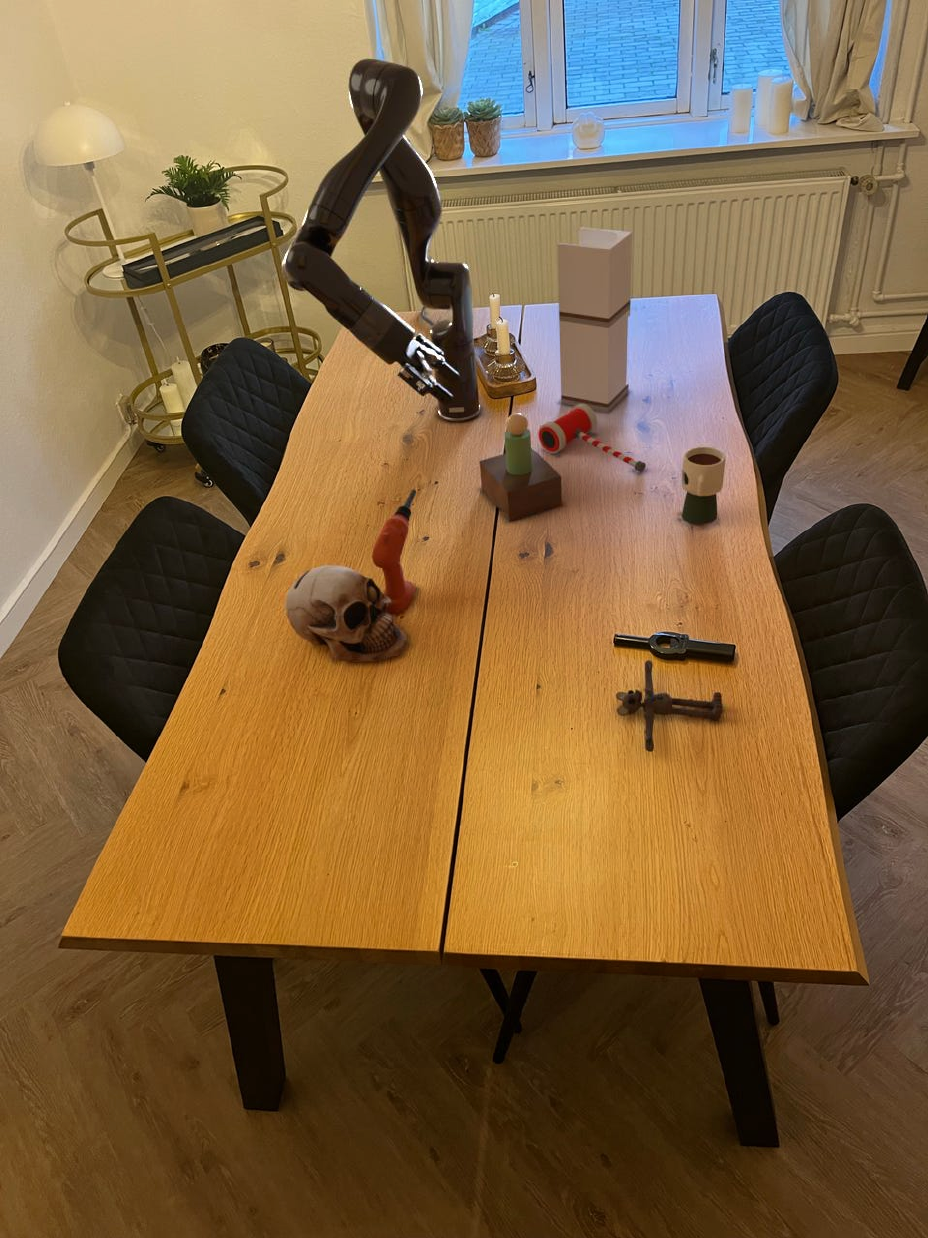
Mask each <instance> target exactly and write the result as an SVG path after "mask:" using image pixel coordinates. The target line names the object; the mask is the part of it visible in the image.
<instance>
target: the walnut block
mask: <svg viewBox="0 0 928 1238" xmlns="http://www.w3.org/2000/svg"><path fill="white" fill-rule="evenodd" d="M531 454H532V470H531V471H530V472H529V473H527V474H523V475H513V474H510V473H509V472H508V471H507V465H506V452H505V453H502V454H497V455H495V456H492V457H489V458H486V459H481V460H479V471H480V482H481V491H483V492H484V494H485V495H486V496H487V497H488V498H489V500H490V501H491V502H492V503H493V504H494V505H495V506H496V508H497V509H498V510H499V511H500V512H501V513H502V515H503V516H504V517H505V518H506V519H507V521H508V522H513V521H516V520H519V519H522V518H526V517H529V516H532V515H535V514H538V513H542V512H545V511H548V510H551V509H554V508H558V507H561V506H562V505H563V501H562V500H563V499H562V498H563V496H562V475H561V474H560V473H559V472H558V471H557V470H556V469H554V467H553V466H552V465H550V463H548V461H547V460H545V458H544V457H542V455H540V453H539V452H537V450H536V449H534V448H533V446H531Z"/></svg>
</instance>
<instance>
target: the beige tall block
mask: <svg viewBox="0 0 928 1238" xmlns="http://www.w3.org/2000/svg"><path fill="white" fill-rule="evenodd" d="M578 231H579V244H578V243H567V242H560V241H559V242H558V243H556V244H557V246H556V248H557V249H556V250H557V283H558V285H557V286H558V289H557V290H558V320H559V321H558V324H559V325H558V326H559V327H558V328H559V358H560V359H559V360H560V361H559V363H560V365H559V366H560V398H561V399H560V400H561V401H560V403H561V404H562V405H568V406H573V407H575V406H576V405H578V404H586V405H588V406H589V407H590V408H591V409H592V410H593V411H597V412H601V413H602V412H603V413H607V414H608V413H609V412H610V411H611V410H612V409H613V408H614V407H615V406H616V405H617V404H618V403H619V402H620V401H621V400H622V399H623V398H625V396H626V395H627V394H628V393H629V383H628V382H627V379H628V378H627V376H628V375H627V373H628V371H627V370H628V334H629V333H628V331H629V317H630V316H631V303H632V302H631V300H632V297H631V295H632V292H631V291H632V259H633V231H627V230H626V231H625V230H618V229H617V230H615V229H605V228H597V227H596V228H595V227H583V226H581V227H579V229H578Z"/></svg>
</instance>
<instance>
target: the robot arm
mask: <svg viewBox="0 0 928 1238" xmlns="http://www.w3.org/2000/svg"><path fill="white" fill-rule="evenodd" d="M348 96H349V102H350V105H351V109H352V111H353V113H354V117H355V118H356V121H357V122H358V125H359V128H360V129H361V131H362V133H363V137H362V139H361V140H360V141H359V142H358V143H357V144H356V145H355V146H354V147H353V148H352V149H351V150H350V151H349V152H348V153H347V154H345V155H344V156H343V157H342V158H340V159H339V160H338V161H337V162H336V163H335V164H334V165H333V166H332V167H331V168H330V169H329V170H328V171H327V173H326V174H325V175H324V176H323V178H322V179H321V181H320V183H319V185H318V187H317V189H316V191H315V192H314V195H313V197H312V199H311V201H310V203H309V206H308V208H307V211H306V212H305V216H304V219H303V222H302V223H301V226H300V228H299V230H298V231H297V233H296V235H295V236H294V238H293V241H292V242H291V244H290V246H289V247H288V250H287V252H286V253H285V255H284V257H283V259H282V262H281V272H282V277H283V279H284V282H286V284H287V285H288V286H289V287H290V288H292V289H293V290H295V291H298V292H307V293H309V294H310V295H311V296H313V298H315V299H316V300H317V301H318V302H320V303H321V304H322V306H324V308H325V310H326V312H327V313H328V314H329V316H331V317H332V318H333V319H334V320H335V321H336V322H337V323H339V324H340V325H341V326H342V327H344V328H345V329H346V330H348V331H349V332H350V333H351V334H352V335H353V336H354V337H355V338H356V339H357V341H358V342H360V343H361V344H362V345H363V346H364V347H366V348H367V349H368V350H370V351H371V353H373V354H374V355H376V356H377V357H378V358H379V359H381V360H382V361H383V362H385V364H386V365H389V366H391V365H393V364H394V363H398V364H399V366H401V369H400V370H399V371H398V372H397V373H396V374H397V376H398V377H399V378H400V379H401V380H402V381H403V382H405V383H406V384H407V385H408V386H410V388H412V389H413V390H414V391H415V392H416V393H417V394H419V395H420V396H421V397H425V396H426V395H428V394H429V395H432V397H433V398H435V399H436V400H437V406H438V416H439V417H440V418H441V419H442V420H444V421H447V422H453V423H454V422H455V423H458V422H465V421H469V420H472V419H474V418H476V417H477V416H478V415H479V414H480V413H481V405H480V395H479V383H478V373H477V362H476V360H477V359H476V352H475V351H476V350H475V340H474V339H475V337H474V309H473V308H474V307H473V283H472V282H473V281H472V274H471V271H470V269H469V266H468V265H467V264H466V263H464V262H449V261H434V260H433V257H432V256H431V252H430V251H431V250H430V247H431V245H432V241H433V239H434V237H435V235H436V232H437V230H438V228H439V226H440V223H441V219H442V216H443V205H442V200H441V197H440V193H439V190H438V186H437V183H436V180H435V178H434V175H433V173H432V171H431V169H430V168H429V166H428V165H427V163H426V162H425V161H424V160H423V158H422V157H421V155H420V154H419V153H418V152H417V150H416V149H415V148H414V146H413V145H412V144H411V143H410V142H409V140H408V139H407V138H406V136H405V134H406V133H407V131H408V130H409V129H410V128H411V125H412V124H413V122H414V120H415V119H416V116H417V115H418V113H419V110H420V107H421V104H422V99H423V86H422V82H421V80H420V76H419V74H418V73H417V72H416V71H415V69H413V68H411V67H409V66H406V65H403V64H399V63H396V62H391V61H386V60H382V59H377V58H363V59H361V60H359V61H357V62H355V64H354V65H353V66H352V69H351V71H350V73H349V77H348ZM378 173H379V174H380V177H381V179H382V183H383V186H384V189H385V192H386V196H387V199H388V203H389V205H390V209H391V212H392V214H393V217H394V220H395V222H396V225H397V227H398V231H399V233H400V236H401V239H402V242H403V245H404V248H405V251H406V254H407V258H408V259H407V260H408V264H409V267H410V272H411V276H412V281H413V285H414V290H415V292H416V296H417V299H418V301H419V302H420V304H421V305H422V306H423V307H422V308H421V310H420V317H421V319H422V320H423V321H425V323H428V325H430V329H429V339H430V340H429V339H427V338H426V337H425V336H424V335H422V334H421V333H419V332H418V333H417V334H416V330H415V329H414V328H413V327H411V326H410V324H408V323H407V322H406V321H404V319H402V318H401V317H400V316H399V315H398V314H396V313H395V312H394V311H393V310H392V309H390V308H389V307H388V306H387V305H385V304H384V303H383V302H381V301H379V300H378V299H376V298H375V297H373V295H371V294H370V293H369V291H367V290H366V289H364V288H363V287H362V286H360V285H359V284H358V283H357V282H355V281H354V280H352V279H351V277H350V276H349V275H348V274H347V273H346V272H345V270H343V268H342V267H341V266H340V265H339V264H338V263H337V262H336V261H335V260H334V259H333V258H332V255H333V253H334V252H335V249H336V247H337V245H338V243H339V242H340V241H341V239H342V238H343V237H344V235H345V233H346V232H347V229H348V227H349V226H350V224H351V221H352V220H353V217H354V215H355V213H356V211H357V209H358V207H359V205H360V203H361V201H362V199H363V197H364V195H365V193H366V191H367V190H368V188H369V186H370V185H371V184H372V182H373V180H374V179H375V177H376V176H377V174H378ZM426 309H429V310H430V309H431V310H443V311H445V310H446V311H451V316H450V317H447V318H444V319H441V320H439V321H437V322H434V321H432V320H431V319H429V318H428V317H426V316H425V312H426ZM432 370H433V371H432ZM433 372H434V376H433V375H432V374H433Z"/></svg>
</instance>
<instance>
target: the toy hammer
mask: <svg viewBox="0 0 928 1238" xmlns="http://www.w3.org/2000/svg"><path fill="white" fill-rule="evenodd" d="M597 427H598V418H597V415H596V413H595V410H592V409H591V408H590V407H589V406H588V405H586V404H578V405H576V406H573V407H572V408H571V409H570V411H568V412H567V413H565V414H564V415H562V416H560V417H559V418H557V419H555V420H554V421H547V422H545V423H543V424H541V425H540V426H539V428H538V430H537V437H538V441H539V443H540V445H541V446H542V448H543V450H545V451H546V452H547V453H549V454H557V453H559V452H561V451H562V450H564V449H565V447H566V445H568V444H570V443H571V442H572V441H574V440H576V439H579V440H582V441H584V442H585V443H588V444H589V445H592V446H593V447H595V448H597V449H599V450H601V451H603V452H604V453H606V454H609V455H611V456H612V457H614V458H616V459H618V460H619V461H622V462H623V463H626V464H628V465H629V466H631V467H632V468H634V470H636V471H637V472H639V473H642V472H643V471H644V470H645V468H646V462H643V461H642V460H637V459H634V458H633V457H631V456H629V455H626V454H625V453H623V452H621V451H619V450H617V449H615V448H613V447H612V446H609V445H607V444H606V443H603V441H600V440H598V439H596V438H594V437H592V436H590V435H589V434H591V433H593V432H594V431H595V430H596V429H597Z"/></svg>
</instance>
